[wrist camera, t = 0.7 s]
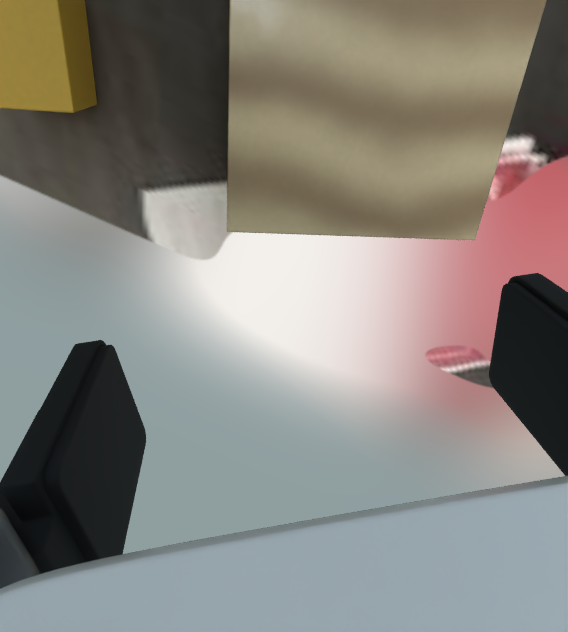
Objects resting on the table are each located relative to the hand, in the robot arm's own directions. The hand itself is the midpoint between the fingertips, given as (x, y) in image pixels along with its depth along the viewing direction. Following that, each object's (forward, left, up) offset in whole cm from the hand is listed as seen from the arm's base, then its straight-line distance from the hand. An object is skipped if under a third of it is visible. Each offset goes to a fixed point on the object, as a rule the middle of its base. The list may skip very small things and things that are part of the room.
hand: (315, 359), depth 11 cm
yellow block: (-9, -11, -26) cm, 30 cm away
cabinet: (-3, +7, -26) cm, 27 cm away
